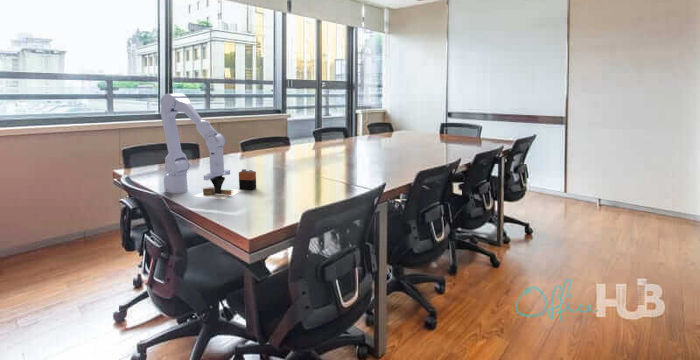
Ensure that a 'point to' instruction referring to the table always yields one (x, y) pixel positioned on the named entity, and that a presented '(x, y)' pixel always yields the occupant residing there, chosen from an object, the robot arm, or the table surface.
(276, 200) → the table surface
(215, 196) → the board
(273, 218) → the table surface
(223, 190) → the dial
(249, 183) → the battery
